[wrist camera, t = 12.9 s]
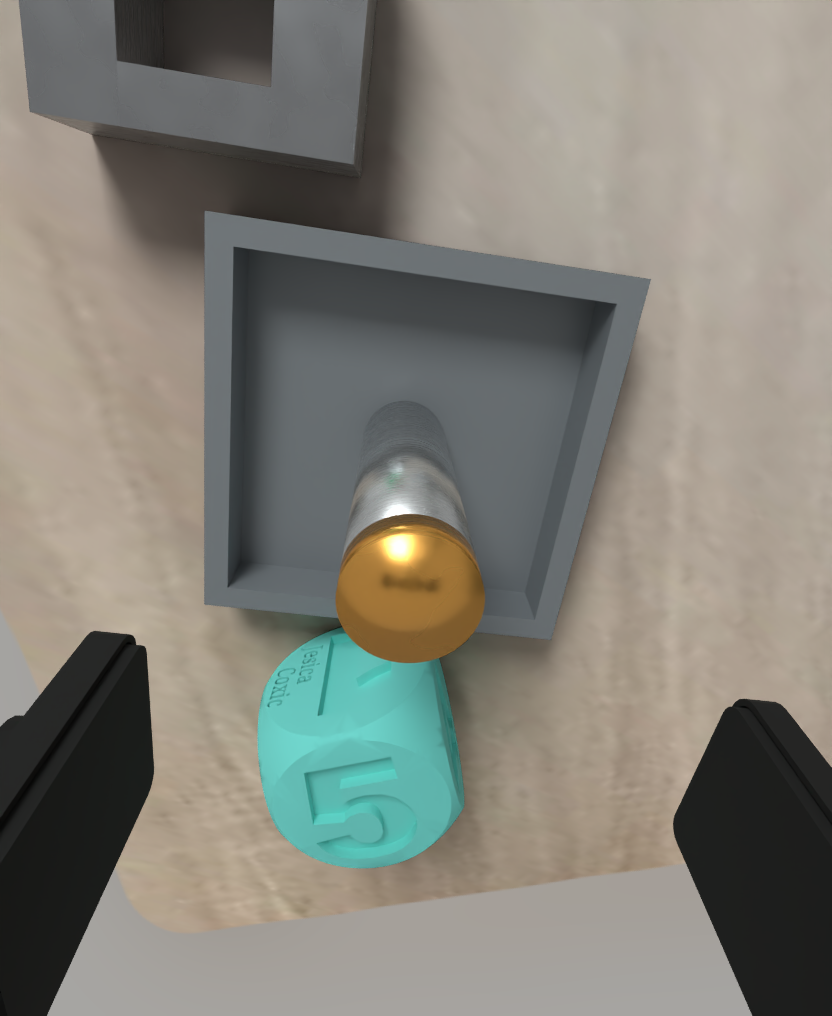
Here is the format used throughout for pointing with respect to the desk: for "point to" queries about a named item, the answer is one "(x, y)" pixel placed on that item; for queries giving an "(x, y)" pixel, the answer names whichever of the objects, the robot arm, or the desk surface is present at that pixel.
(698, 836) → the robot arm
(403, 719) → the decorative dice
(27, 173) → the desk surface
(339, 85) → the block
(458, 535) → the pin
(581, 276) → the tray
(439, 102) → the desk surface
